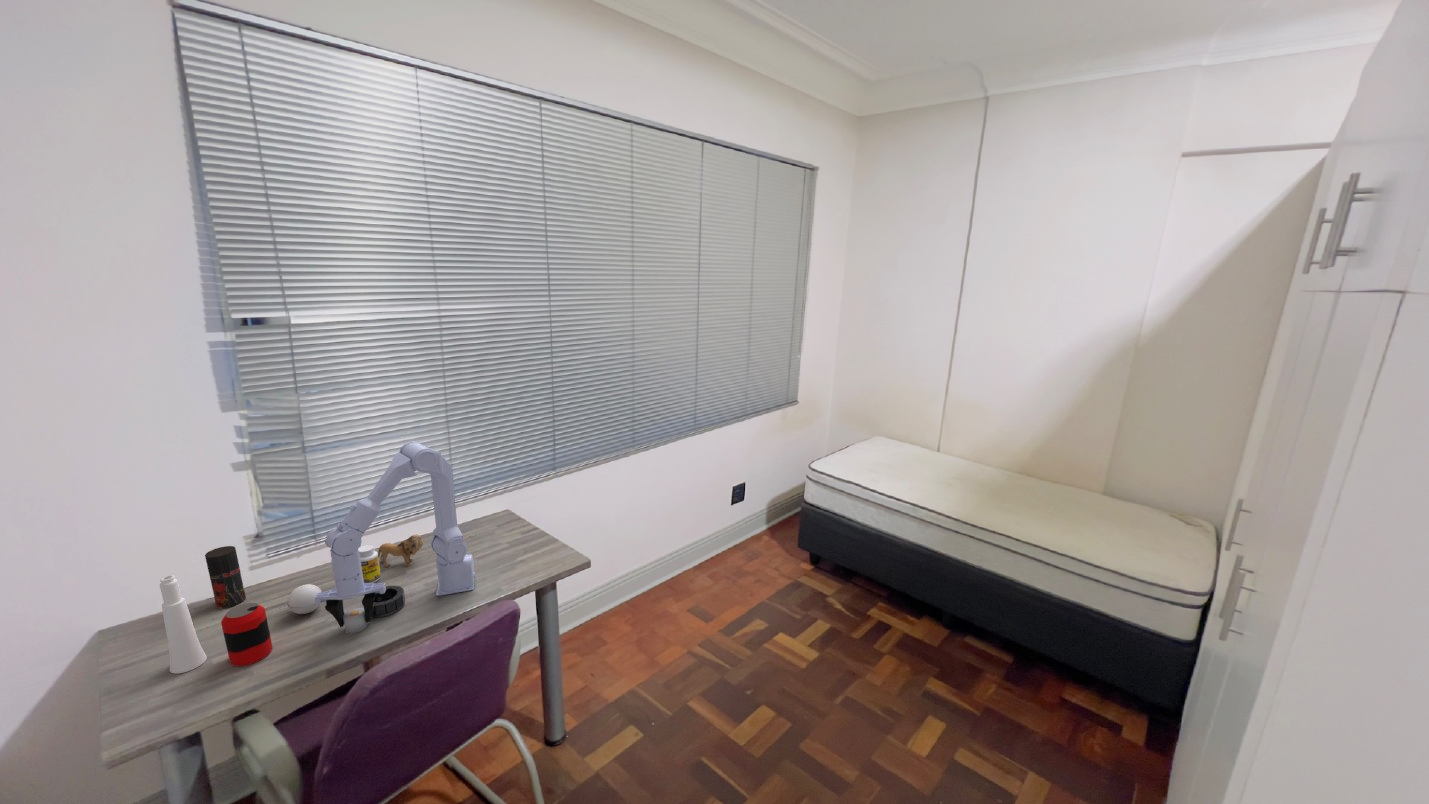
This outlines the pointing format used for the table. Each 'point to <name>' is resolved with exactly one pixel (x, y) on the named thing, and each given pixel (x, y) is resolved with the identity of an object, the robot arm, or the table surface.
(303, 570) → the table surface
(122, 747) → the table surface
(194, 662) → the cosmetic bottle
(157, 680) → the table surface
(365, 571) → the supplement bottle
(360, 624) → the boiled egg half
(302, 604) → the white egg
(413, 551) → the lion figurine
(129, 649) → the table surface
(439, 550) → the robot arm
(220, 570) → the deodorant
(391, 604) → the dark grey round ring
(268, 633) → the soda can
